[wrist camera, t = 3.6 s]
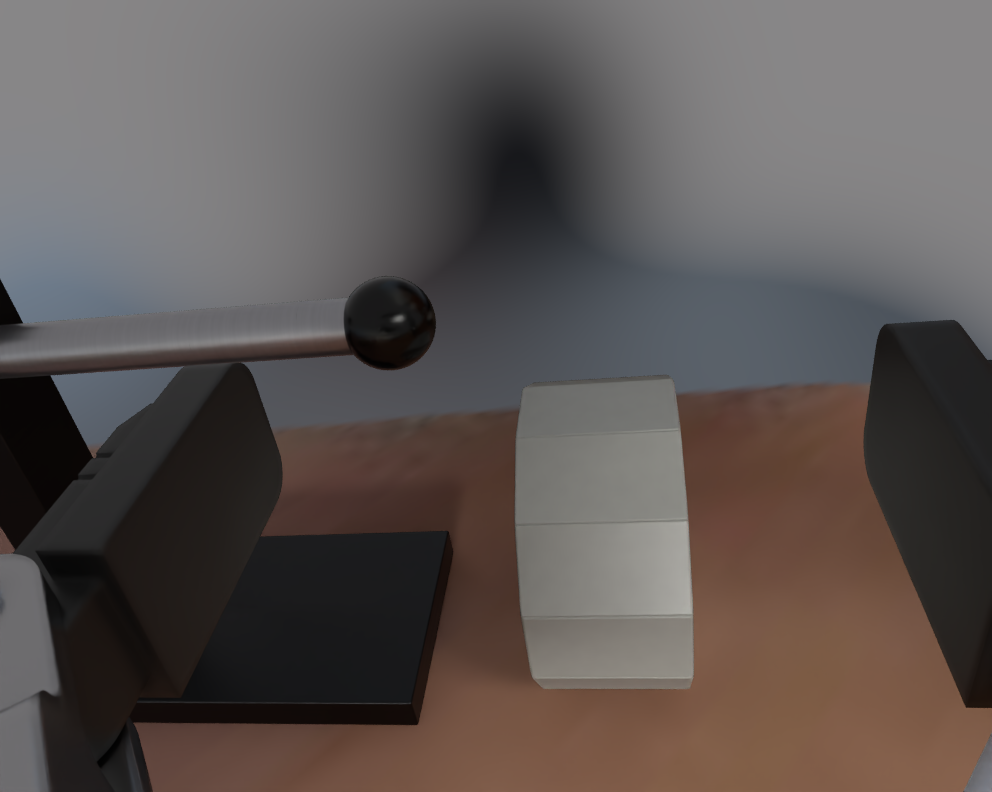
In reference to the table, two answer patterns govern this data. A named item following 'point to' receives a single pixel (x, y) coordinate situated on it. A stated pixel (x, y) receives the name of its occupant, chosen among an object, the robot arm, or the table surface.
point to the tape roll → (603, 535)
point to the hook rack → (275, 559)
